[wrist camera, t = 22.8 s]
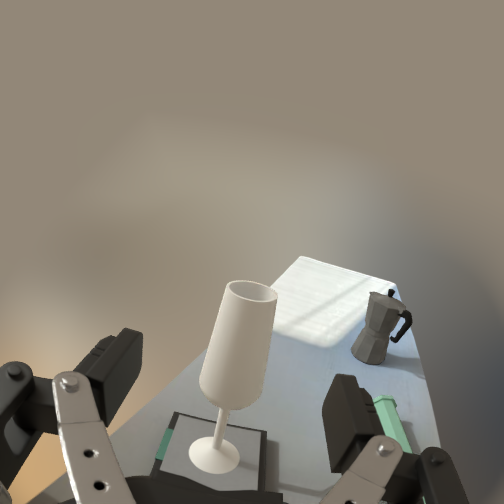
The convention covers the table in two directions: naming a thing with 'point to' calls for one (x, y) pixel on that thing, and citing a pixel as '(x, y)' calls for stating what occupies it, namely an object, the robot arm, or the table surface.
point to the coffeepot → (380, 327)
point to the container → (392, 421)
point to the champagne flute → (234, 366)
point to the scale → (193, 428)
